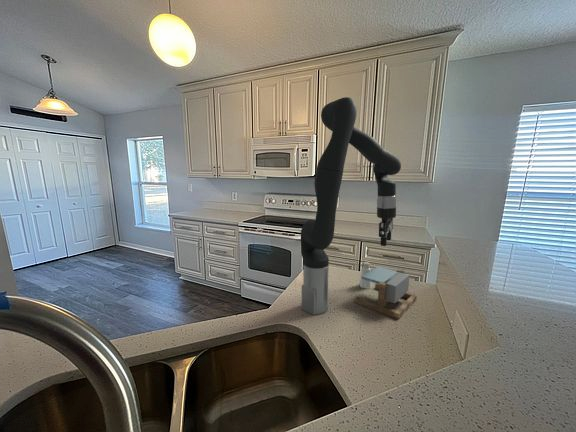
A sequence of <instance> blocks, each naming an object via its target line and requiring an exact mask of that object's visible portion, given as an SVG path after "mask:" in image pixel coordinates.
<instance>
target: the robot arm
mask: <svg viewBox="0 0 576 432" xmlns="http://www.w3.org/2000/svg"><path fill="white" fill-rule="evenodd" d="M357 111H358V110H357V105H356V103H355V100H354V99H353V98H351V97H346V96H345V97H342V98H339V99H336V100H334V101H331V102H329V103H327V104H325V105H324V106H323V107H322V109H321V112H320V116H321V117H320V118H321V122H322V123H323V125H324V126H325V127H326V129H329V131H331V136H330V140H329V142H328V144H327V145H326V147H325V149H324V151H323V153H322V154H321V156H320V158H319V160H318V163H317V165H316V170H315V174H314V182H313V183H314V192H315V199H316V207H317V208H316V215H315V219H310V220H307V221H305V223H303V225H302V226H301V230H300V253H301V258H302V260H303V262H302V263H303V273H302V275H303V279H302V280H303V282H302V283H303V284H302V285H301V310H303V311H305V312H306V313H309V314H310V315H313V316H316V315H320V314H321V315H322V314H324V313H326V312H328V310H329V309H328V308H329V270H330V269H329V268H330V266H329V263H330V261H329V256H328V255H327V252H326V251H325V249H327V248H329V246H331V244H332V242H333V239H334V236H335V228H336V227H335V226H336V225H335V224H336V215H337V207H338V206H337V205H338V202H339V201H338V200H339V195H340V190H341V184H342V179H343V174H344V170H345V169H344V168H345V163H346V157H347V154H348V148H349V144H350V145H351V146H352V147H353V148H354V149H356V151H358V153H360V154H361V155H362V156H363V157H364V158H365V159H366V160H367V161H368V162H369V163H370V164H373V168H372V169H373V175H374V178H375V182H376V186H377V197H376V198H377V199H376V217H377V218H379V219H381V220H380V222H378V237H379V238H380V247H381V246H382V247H386V246H387V242H388V241H392V232H393V230H394V218H396V217H397V198H396V197H397V195H396V193H397V187H396V186H397V184H396V182H395V181H393V180H390V179H389V177H388V176H394V175H397V174H398V173H399V172H400V171H401V169H402V163H401V161H400V158H398V157H397V156H396V155H395V154H394V153H391V152H390V151H388V150H386V149H385V148H383V146H382V145H381V143H379V142H378V141H377V139H375V138H374V137H373V136H371V135H369V133H366V132H365V131H362V130H360V129H359V128H357V127H356V126H355V123H356V119H357Z"/></svg>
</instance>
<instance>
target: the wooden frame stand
mask: <svg viewBox="0 0 576 432" xmlns="http://www.w3.org/2000/svg"><path fill="white" fill-rule="evenodd" d="M396 272H400V273H403V274H405V270H404V269H401V268H398V269H397V270H396ZM386 287H387V283H385V282H380V283H379V284H377V283H374V289H375V290H378V295H377V303H376V302H373V301H371V300H368V299H365V298H362V297H360V296H356V297H355V303H356V304H358V305H361V306H363V307H365V308H367V309H370V310H374V311H376V312H378V313H380V314H384V315H386V316H389V317H391V318H394V319H396V320H401V319H400V318H402V316H404V314H405V313H406V312H407V311H408V310H409V309H410V307H412V305H414V303H415V302H416V301H417V298H418V296H417V294H413V293H412V292H411V293H410V292H408V291H407V292H406V293H405V294H404V295H403V296H402V297H401V298H403V299H406V300H405V301H404V302H403V303H402V304H401V305H400V306H399V307H398V308H397V309H396V310H395V309H392V308H390V307H387V306H386V305H387V304H386Z"/></svg>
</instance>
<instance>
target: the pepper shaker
mask: <svg viewBox="0 0 576 432" xmlns="http://www.w3.org/2000/svg"><path fill="white" fill-rule="evenodd" d="M370 265H371V263H370V262H368V261H364V262H363V267H362V268H361V272H360V273H361V274H360V279H359V287H360V288H363V289H364V290H365V289H372V287H373V282H371V281H367V280H364V279H362V276H363V275H365V274H366V273H368V272H370V271H371V270H372V268H370V267H371V266H370Z"/></svg>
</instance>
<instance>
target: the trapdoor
mask: <svg viewBox="0 0 576 432" xmlns="http://www.w3.org/2000/svg"><path fill="white" fill-rule="evenodd" d="M362 279H364V280H367V281H371V282H372V283H374V284H376V283H377V284H379V283H380V282H385V283H387V287H386V301H387V302H390V303H392V304H396V303H398V301H399V300H401V298H403V297H402V296H403V295H404V294H405V293H406V292H407V293H408V292H409V285H410V274H406V273H404V274H403V273H400V272H397V270H396V271H395V270H391V269H388V268H384V267H380V266H376V267H375V268H373V269H371V271H370V272H368V273H366V274H365V275H363V276H362Z"/></svg>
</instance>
